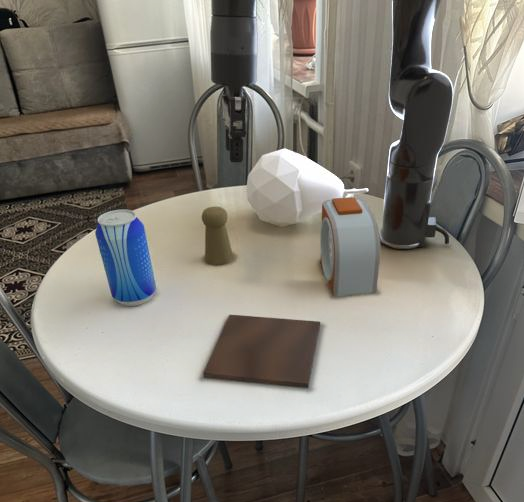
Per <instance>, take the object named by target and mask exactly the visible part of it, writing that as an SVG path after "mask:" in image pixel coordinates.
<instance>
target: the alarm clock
mask: <svg viewBox="0 0 524 502" xmlns="http://www.w3.org/2000/svg"><path fill="white" fill-rule="evenodd" d="M380 262H381V241H380V230H379V224H378V220H377V218H376V216H375V214H374V212H373V211H372V209H371V208H370V206H369V205H368V204H367V202H366V200H365V199H363V198H360V197H354V196H353V197H347V198H346V197H342V198H335V199H331V200H326V201H324V202H323V203H322V212H321V226H320V262H319V263H320V265H321V268H322V271H323V274H324V277H325V280H326V281H327V284H328V286H329V289H330V292H331V294H332V296H333V298H334V297H345V296H346V297H347V296H358V295H370V294H376V293H377V289H378V282H379V271H380Z"/></svg>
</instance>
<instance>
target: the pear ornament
mask: <svg viewBox="0 0 524 502" xmlns="http://www.w3.org/2000/svg"><path fill="white" fill-rule="evenodd" d="M368 192H369V188H367V187H365V188H359V189H358V188H351V189H345V185H344V182H342V180H341V179H340V178H339V177H337V176H336V175H335V174H334V173H332V172H330V171H329V170H327V169H326V168H325V167H323V166H321V165H320V164H318V163H316V162H315V161H313V160H311V159H310V158H308V157H307V156H304V155H302V154H300V153H298V152H296V151H292V150H290V149H288V148H286V147H285V148H281V149H278V150H274V151H271V152H268V153H264V154H262V155H261V156H260V158H259V159H258V161H257V162H256V164H255V165H254V167H252V169H251V171H250V172H249V173H248V175H247V181H246V198H247V202H248V203H249V204H250V206H251V208H252V209H253V210H254V212H255V214H256V216H258V218H259V220H260V221H263V222H266V223H268V224H271V225H274V226H277V227H280V228H284V227H287V226H292V225H295V224H297V223H300V222H302V221H305V220H307V219H309V218H311V217H314V216H316V215H318V214H320V213H322V203H323V202H324V201H326V200H331V199H335V198H344V195H346V196H345V198H347V197H354V195H356V194H365V193H368Z"/></svg>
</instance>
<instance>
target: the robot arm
mask: <svg viewBox="0 0 524 502" xmlns="http://www.w3.org/2000/svg"><path fill="white" fill-rule="evenodd" d="M210 3H211V5H210V7H211V9H210V10H211V12H210V13H211V18H210V19H211V20H210V21H211V22H210V30H209V31H210V32H209V38H210V39H209V41H210V42H209V43H210V80H211V82H212V83H213V84H215V85H218V86H223V88H222V92H223V94H221V106H222V109H221V110H222V113H221V114H222V120H223V126H224V128H225V149H226V151H228V152H229V161H230V162H231V163H242V162H244V140H245V138H246V137H247V130H246V129H247V128H246V127H247V108H248V107H247V106H248V99H247V97H246V95H244V91H243V88H244V87H246V86H247V87H249V86H254V85H255V84H256V83H257V80H258V44H259V42H258V40H259V37H258V35H259V33H258V18H257V17H258V15H257V14H258V0H210ZM441 4H442V0H392V1H391V18H392V19H391V23H392V24H391V25H392V45H391V48H392V49H391V58H390V59H391V60H390V70H389V71H390V72H389V82H388V101H389V106H390V108H391V111H392V112H393V113H394V114H395V115H396V117H398V118H399V119H401V120H403V121H402V126H401V132H400V137H399V140H397V141H395V142H393V143H392V144H391V145H390V148H389V154H388V163H387V171H386V181H385V188H384V189H385V190H384V199H383V207H382V208H383V209H382V218H381V224H380V225H381V226H380V232H379V235H380V243H381V244H383V245H384V246H387V247H389V248H393V249H399V250H410V249H411V250H412V249H415V248H424V247H425V242H426V238H433V239H434V238H435V237H436V232H438V233H440V234H442V235H443V237H444V244H445V245H448V244H450V236H449V233H448V232H447V231H446V230H445V229H443V228H441V227H439V226H438V225H437V218H436V217H434V216H430V212H431V207H432V202H431V197H432V191H433V185H434V179H435V175H436V174H435V172H436V167H437V161H438V156H439V154H440V151H441V150H442V148H443V146H444V143H445V140H446V136H447V132H448V128H449V127H448V126H449V122H450V118H451V113H452V109H453V102H454V87H453V82H452V81H451V79H450V78H449V76H448V75H447V74H445V73H443V72H442V71H439V70H436V69H432V60H431V59H432V33H433V28H434V24H435V20H436V17H437V15H438V12H439V10H440V6H441Z"/></svg>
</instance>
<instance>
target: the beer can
mask: <svg viewBox="0 0 524 502" xmlns="http://www.w3.org/2000/svg"><path fill="white" fill-rule="evenodd" d="M94 233H95V237H96V242H97V245H98V249H99V254H100V257H101V261H102V264H103V269H104V272H105V276H106V280H107V284H108V287H109V290H110V295H111V297H112V298H113V299H114V301H117V303H118V304H119V305H122V306H127V307H134V306H139V305H144V304H145V303H147V302H149V301H151V299H152V298H153V297H154V294H155V292H156V290H157V284H156V279H155V274H154V269H153V264H152V260H151V254H150V249H149V245H148V244H149V243H148V240H147V234H146V229H145V225H144V223H143V222H142V221H141V220H140V219H139V218H138V216H137V213H136V212H135V211H134V210H130V209H115V210H114V209H113V210H110V211H106V212H103V213H102V214H100V215H99V216H98V217H97V225H96V228H95V232H94Z"/></svg>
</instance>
